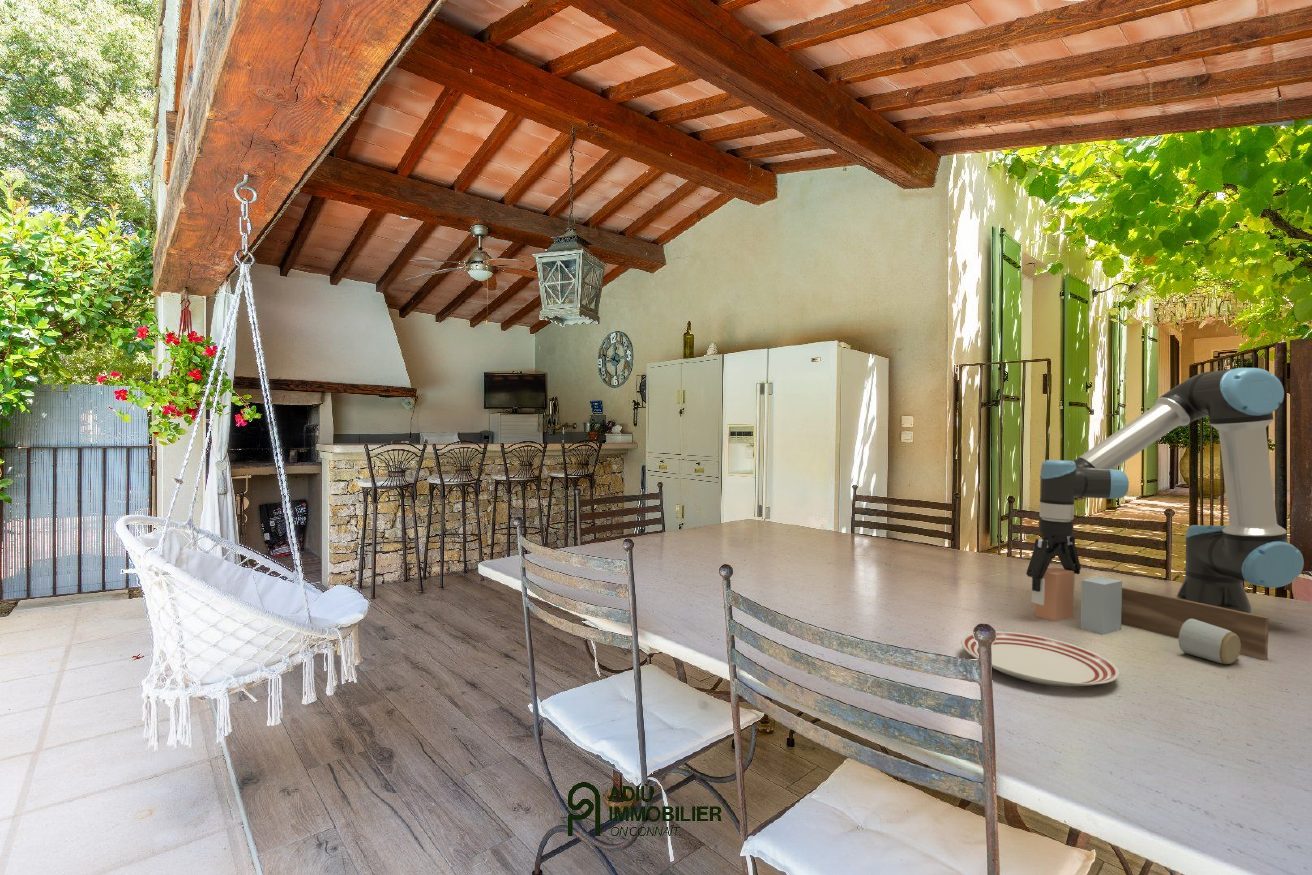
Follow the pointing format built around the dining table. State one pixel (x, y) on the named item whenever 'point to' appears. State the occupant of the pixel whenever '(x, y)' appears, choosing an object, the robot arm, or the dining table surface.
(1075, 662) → the dinner plate
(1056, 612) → the tan rectangular block
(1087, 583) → the light grey rectangular block
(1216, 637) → the ceramic mug
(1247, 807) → the dining table surface
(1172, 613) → the brown wooden board
